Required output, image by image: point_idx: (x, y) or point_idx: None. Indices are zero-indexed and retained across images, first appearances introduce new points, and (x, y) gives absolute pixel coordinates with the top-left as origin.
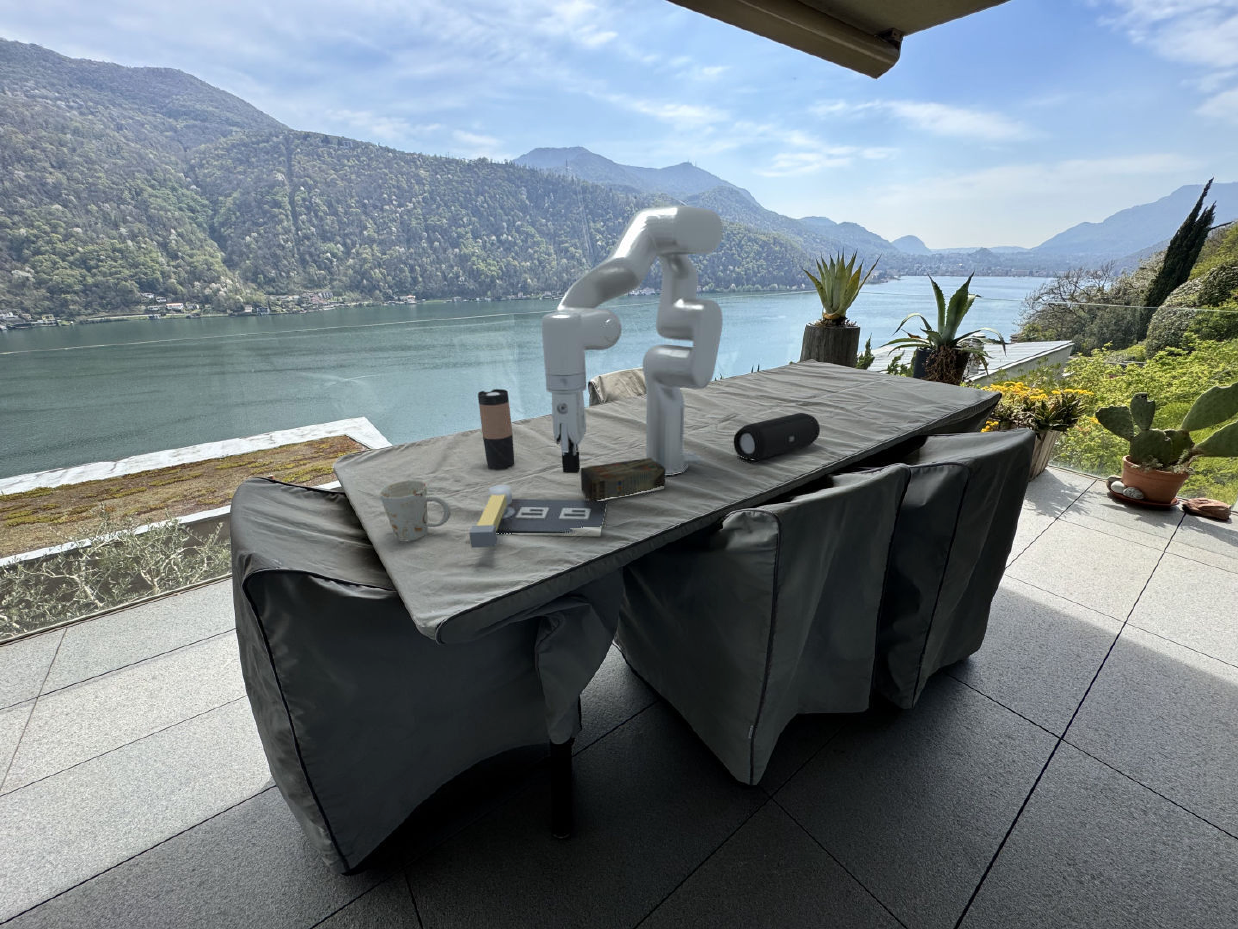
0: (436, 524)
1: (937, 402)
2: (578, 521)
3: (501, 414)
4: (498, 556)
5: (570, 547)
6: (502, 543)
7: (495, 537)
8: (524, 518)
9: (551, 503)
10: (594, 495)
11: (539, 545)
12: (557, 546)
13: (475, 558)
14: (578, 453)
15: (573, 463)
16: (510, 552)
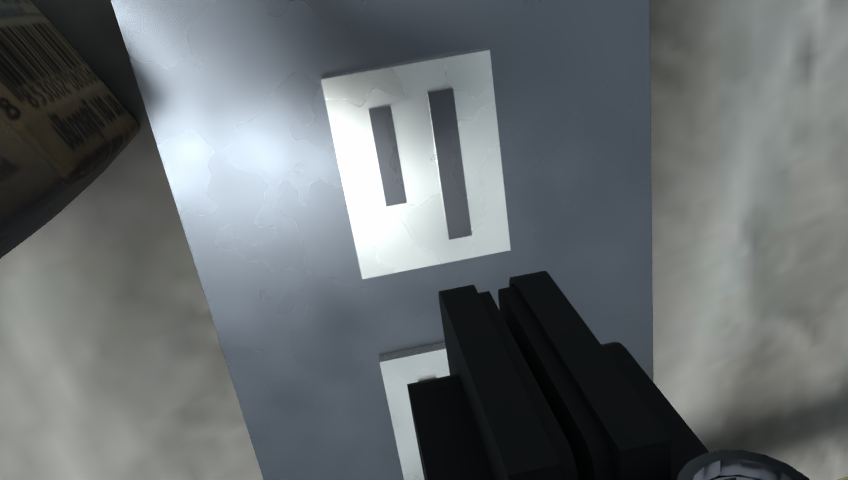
0: None
1: None
2: (509, 113)
3: None
4: (828, 380)
5: (757, 70)
6: (719, 416)
7: None
8: None
9: (293, 375)
10: (106, 113)
11: (736, 246)
12: (746, 149)
13: (838, 455)
14: (555, 452)
15: (659, 392)
16: (797, 348)
